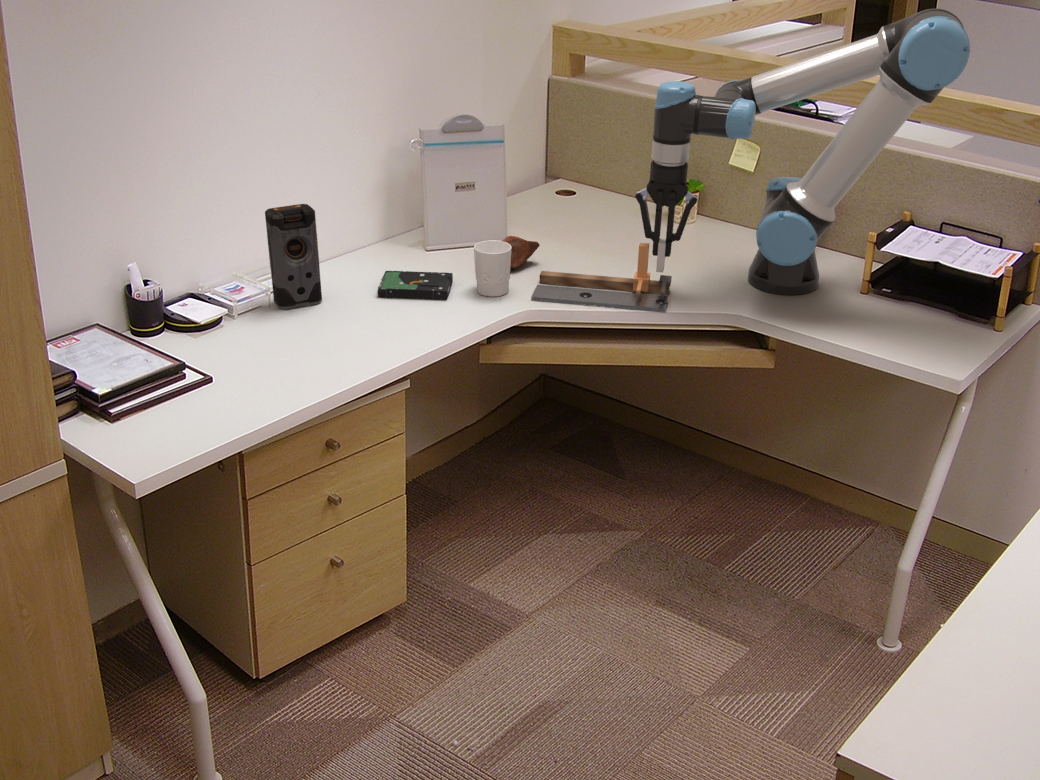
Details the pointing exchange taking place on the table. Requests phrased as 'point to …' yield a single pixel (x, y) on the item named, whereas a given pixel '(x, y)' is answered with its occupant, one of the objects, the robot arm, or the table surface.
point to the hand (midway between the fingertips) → (660, 269)
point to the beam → (604, 282)
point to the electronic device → (293, 256)
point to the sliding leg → (642, 270)
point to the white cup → (492, 267)
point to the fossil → (520, 250)
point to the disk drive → (415, 285)
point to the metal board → (599, 298)
